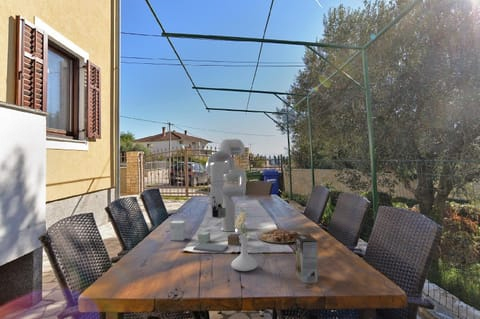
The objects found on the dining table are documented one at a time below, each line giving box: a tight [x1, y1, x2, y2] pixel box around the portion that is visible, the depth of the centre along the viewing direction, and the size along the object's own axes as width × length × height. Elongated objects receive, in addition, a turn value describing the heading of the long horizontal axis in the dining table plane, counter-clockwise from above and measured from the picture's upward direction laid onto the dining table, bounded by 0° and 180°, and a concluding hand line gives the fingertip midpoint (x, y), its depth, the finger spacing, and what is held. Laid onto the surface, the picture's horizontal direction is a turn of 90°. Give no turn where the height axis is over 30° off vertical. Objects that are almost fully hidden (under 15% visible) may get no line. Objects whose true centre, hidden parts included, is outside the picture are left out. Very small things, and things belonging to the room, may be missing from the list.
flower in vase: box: [230, 211, 258, 272], centre depth 120 cm, size 13×11×25 cm
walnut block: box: [227, 233, 241, 246], centre depth 157 cm, size 6×5×5 cm
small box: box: [169, 220, 187, 241], centre depth 167 cm, size 8×6×10 cm
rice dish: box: [257, 228, 305, 244], centre depth 168 cm, size 28×28×5 cm
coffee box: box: [294, 233, 319, 284], centre depth 111 cm, size 9×6×16 cm
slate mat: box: [193, 243, 229, 253], centre depth 149 cm, size 9×16×1 cm, turn 73°
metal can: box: [234, 227, 245, 235], centre depth 168 cm, size 5×5×6 cm
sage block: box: [197, 230, 211, 244], centre depth 162 cm, size 6×5×5 cm
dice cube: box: [214, 207, 226, 219], centre depth 157 cm, size 5×5×5 cm
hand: (217, 215), depth 158 cm, fingers closed on dice cube, 6 cm apart
